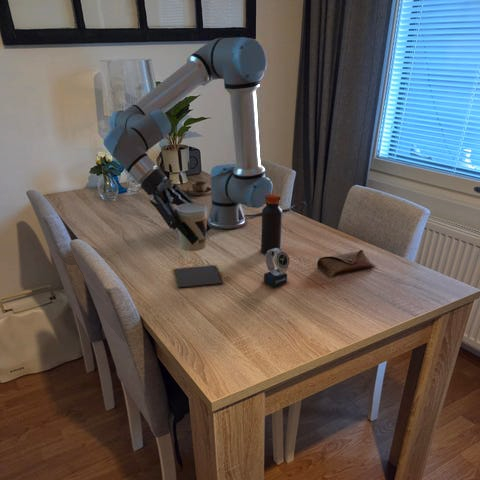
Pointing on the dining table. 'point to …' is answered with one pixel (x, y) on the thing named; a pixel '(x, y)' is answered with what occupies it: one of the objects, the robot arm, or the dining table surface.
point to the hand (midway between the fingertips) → (202, 235)
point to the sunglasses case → (344, 263)
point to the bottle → (271, 223)
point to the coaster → (197, 276)
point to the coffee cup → (193, 224)
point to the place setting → (196, 188)
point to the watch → (278, 275)
